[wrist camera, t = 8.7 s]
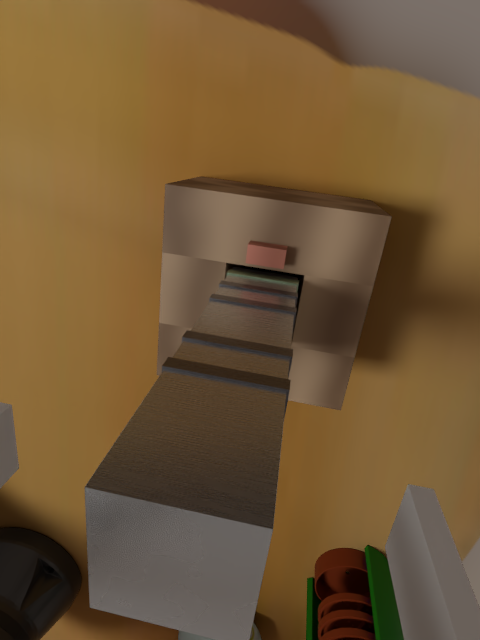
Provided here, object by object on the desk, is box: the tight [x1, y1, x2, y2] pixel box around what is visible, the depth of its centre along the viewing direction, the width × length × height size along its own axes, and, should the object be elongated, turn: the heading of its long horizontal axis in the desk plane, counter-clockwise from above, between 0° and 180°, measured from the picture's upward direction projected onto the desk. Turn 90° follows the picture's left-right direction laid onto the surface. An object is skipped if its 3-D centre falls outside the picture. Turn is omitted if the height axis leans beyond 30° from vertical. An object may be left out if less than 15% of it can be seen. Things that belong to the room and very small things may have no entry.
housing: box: [157, 177, 392, 410], centre depth 31 cm, size 14×14×10 cm
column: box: [85, 267, 299, 640], centre depth 19 cm, size 5×5×20 cm
